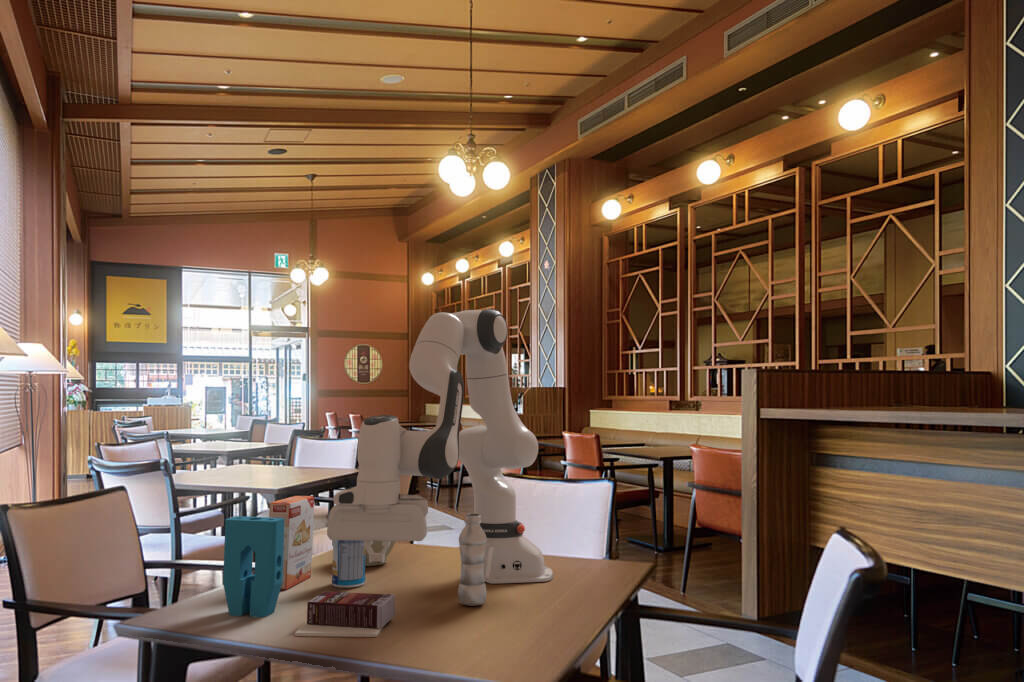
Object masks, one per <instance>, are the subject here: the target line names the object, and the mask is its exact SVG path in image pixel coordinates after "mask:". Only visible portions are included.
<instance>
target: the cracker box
mask: <svg viewBox="0 0 1024 682" xmlns="http://www.w3.org/2000/svg"><path fill="white" fill-rule="evenodd" d="M268 511H269V512H268V513H269V515H268V517H272V518H285V519H284V551H283V582H282V585H281V589H280V591H281V590H282V591H283V590H285V591H286V590H288V589H290V588H292V587H294V586H297V584H300V583H302V582H304V581H306V580H307V579H310V578H311V577H312V562H313V561H312V560H313V543H314V541H313V538H314V536H313V535H314V517H315V516H314V514H315V496H312V495H293V496H289V497H286V498H282V499H279V500H275V501H270V502H269V510H268Z"/></svg>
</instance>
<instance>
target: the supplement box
mask: <svg viewBox="0 0 1024 682" xmlns="http://www.w3.org/2000/svg"><path fill="white" fill-rule="evenodd" d="M395 598H396V597H395V594H394V593H393V594H391V593H390V594H389V593H388V594H387V593H369V592H368V593H366V592H365V593H364V592H346V591H345V592H343V591H326V590H325V591H323V592H321V593H320V594H318V595H316V596H315V597H314V598H312V599H311V600H308V601H307V606H306V607H307V608H306V621H307V624H309V625H327V626H346V627H362V628H377V629H381V628H382V627H383V628H384V626H386V625H387V623H389V622H390V621H391V620H392V619H393V618H394V617H395V613H396V611H395V610H396V608H395V607H396V603H395V600H396V599H395ZM383 628H382V629H383Z"/></svg>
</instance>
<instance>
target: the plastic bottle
mask: <svg viewBox="0 0 1024 682" xmlns="http://www.w3.org/2000/svg"><path fill="white" fill-rule="evenodd" d="M480 523H481V515H480V514H474V513H466V514H465V516H464V524H465V526H464V527H463V528H462V530H461V532H459V533H460V534H459V536H458V543H459V544H458V546H459V553H460V578H459V584H458V588H457V589H458V591H457V594H458V597H457V598H458V601H459V602H460V603H461V604H462V605H464V606H469V607H473V606H481V605H483V604H484V603H485V601H486V599H487V593H488V592H487V585H486V583H485V576H484V557H485V548H486V540H487V538H486V534H485V532H484V531H483V529H482V528H481V526H480Z"/></svg>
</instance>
